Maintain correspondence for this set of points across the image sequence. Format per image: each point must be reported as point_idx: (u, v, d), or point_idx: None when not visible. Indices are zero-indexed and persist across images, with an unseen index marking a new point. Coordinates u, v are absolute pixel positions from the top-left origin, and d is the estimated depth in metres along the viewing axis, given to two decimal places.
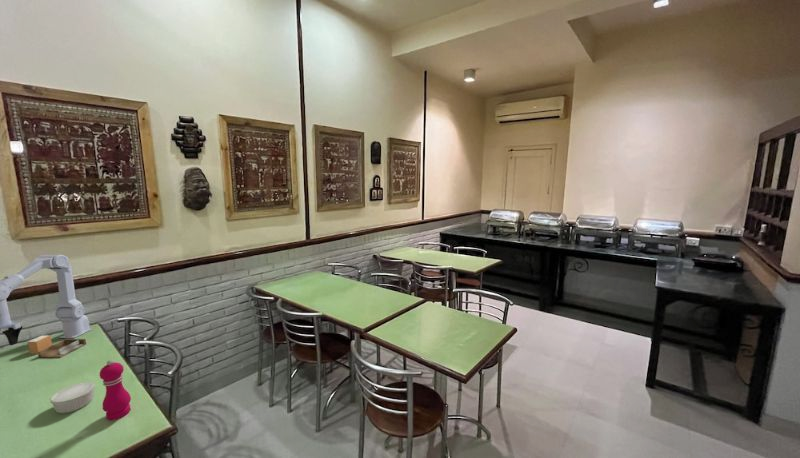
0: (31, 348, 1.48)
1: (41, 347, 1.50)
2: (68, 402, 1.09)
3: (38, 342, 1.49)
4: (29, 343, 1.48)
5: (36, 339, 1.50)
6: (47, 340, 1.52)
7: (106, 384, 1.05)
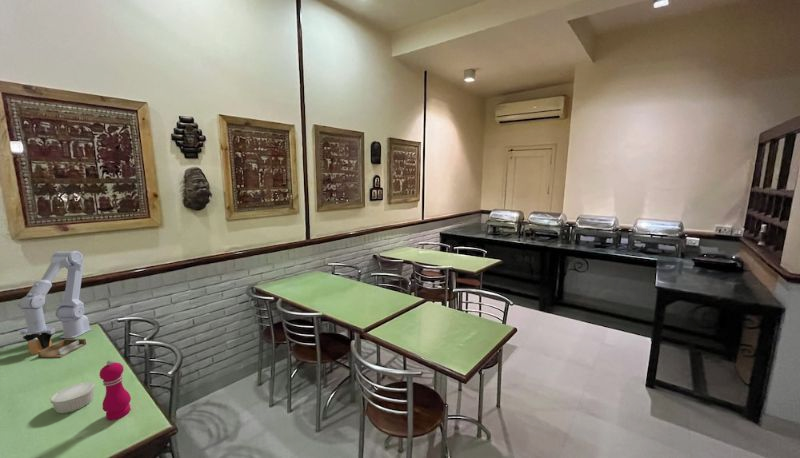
0: (31, 348, 1.48)
1: (41, 347, 1.50)
2: (68, 402, 1.09)
3: (38, 342, 1.49)
4: (29, 343, 1.48)
5: (36, 338, 1.50)
6: None
7: (106, 384, 1.05)
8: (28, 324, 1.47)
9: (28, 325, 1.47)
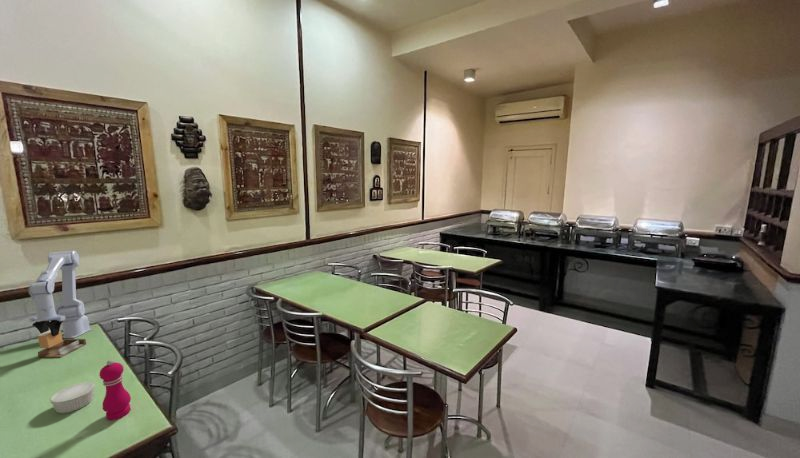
0: (41, 342, 1.45)
1: (51, 341, 1.46)
2: (68, 402, 1.09)
3: (48, 336, 1.45)
4: (39, 337, 1.44)
5: (46, 332, 1.47)
6: None
7: (106, 384, 1.05)
8: (38, 311, 1.43)
9: (38, 312, 1.43)
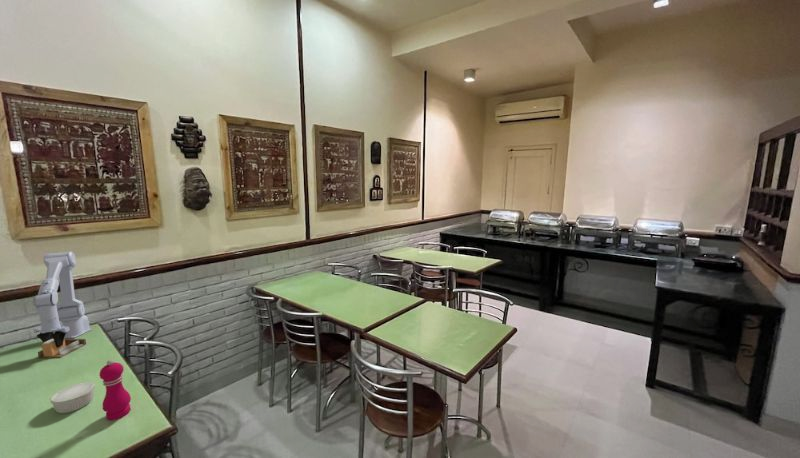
0: (45, 350, 1.45)
1: (54, 349, 1.46)
2: (68, 402, 1.09)
3: (52, 344, 1.45)
4: (43, 345, 1.44)
5: (50, 341, 1.47)
6: None
7: (106, 384, 1.05)
8: (42, 322, 1.43)
9: (42, 323, 1.43)
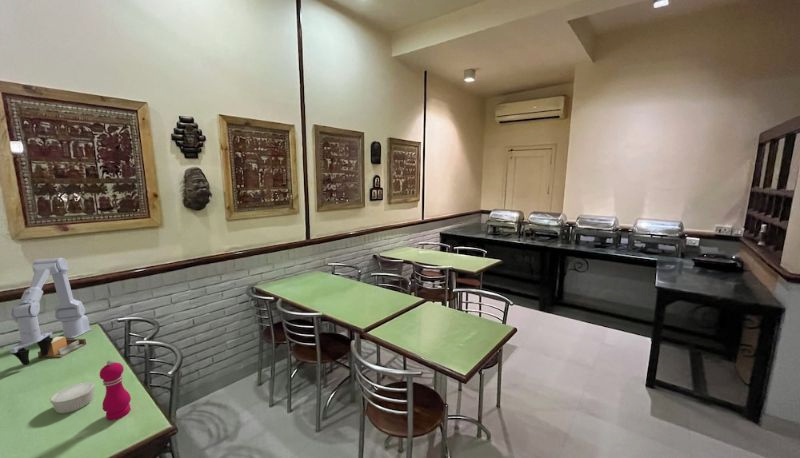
0: None
1: (56, 348, 1.47)
2: (68, 402, 1.09)
3: (53, 343, 1.46)
4: None
5: None
6: (62, 341, 1.49)
7: (106, 384, 1.05)
8: None
9: None
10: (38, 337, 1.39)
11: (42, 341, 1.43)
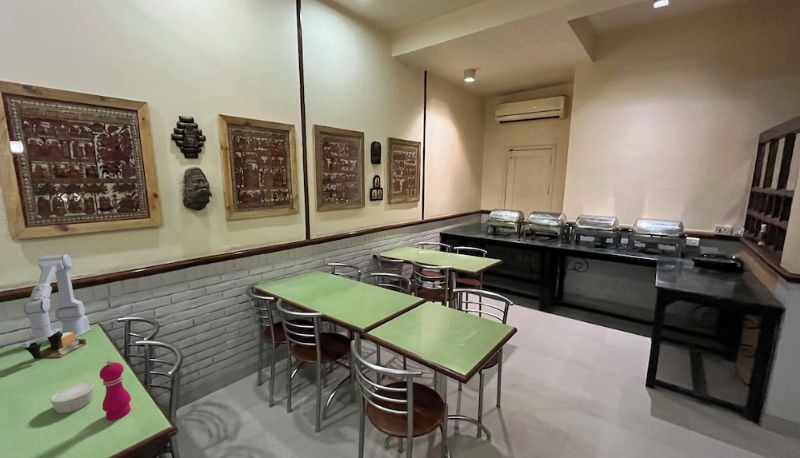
0: None
1: (65, 344, 1.51)
2: (68, 402, 1.09)
3: (63, 339, 1.50)
4: None
5: None
6: (71, 336, 1.54)
7: (106, 384, 1.05)
8: None
9: None
10: (49, 332, 1.43)
11: (52, 336, 1.47)
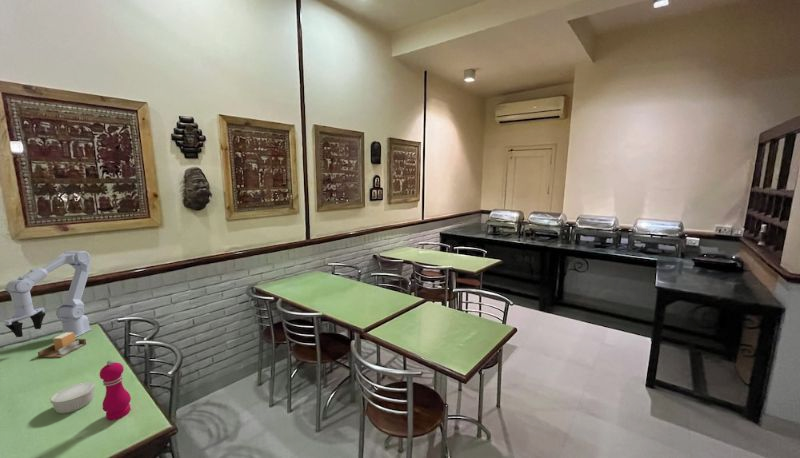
0: (56, 345, 1.50)
1: (65, 344, 1.51)
2: (68, 402, 1.09)
3: (63, 339, 1.50)
4: (54, 340, 1.49)
5: (61, 335, 1.52)
6: (71, 337, 1.54)
7: (106, 384, 1.05)
8: None
9: None
10: (31, 311, 1.47)
11: (35, 316, 1.51)
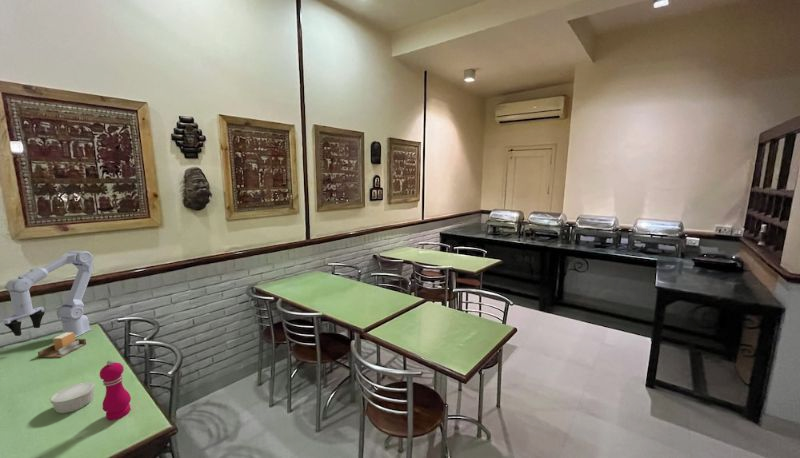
0: (56, 345, 1.50)
1: (65, 344, 1.51)
2: (68, 402, 1.09)
3: (63, 339, 1.50)
4: (54, 340, 1.49)
5: (61, 335, 1.52)
6: (71, 337, 1.54)
7: (106, 384, 1.05)
8: None
9: None
10: (30, 310, 1.48)
11: (34, 315, 1.52)
